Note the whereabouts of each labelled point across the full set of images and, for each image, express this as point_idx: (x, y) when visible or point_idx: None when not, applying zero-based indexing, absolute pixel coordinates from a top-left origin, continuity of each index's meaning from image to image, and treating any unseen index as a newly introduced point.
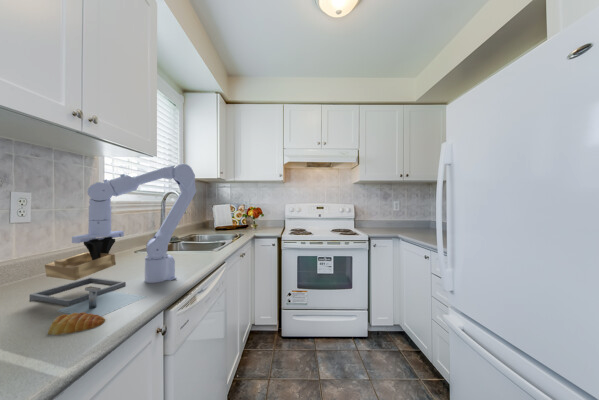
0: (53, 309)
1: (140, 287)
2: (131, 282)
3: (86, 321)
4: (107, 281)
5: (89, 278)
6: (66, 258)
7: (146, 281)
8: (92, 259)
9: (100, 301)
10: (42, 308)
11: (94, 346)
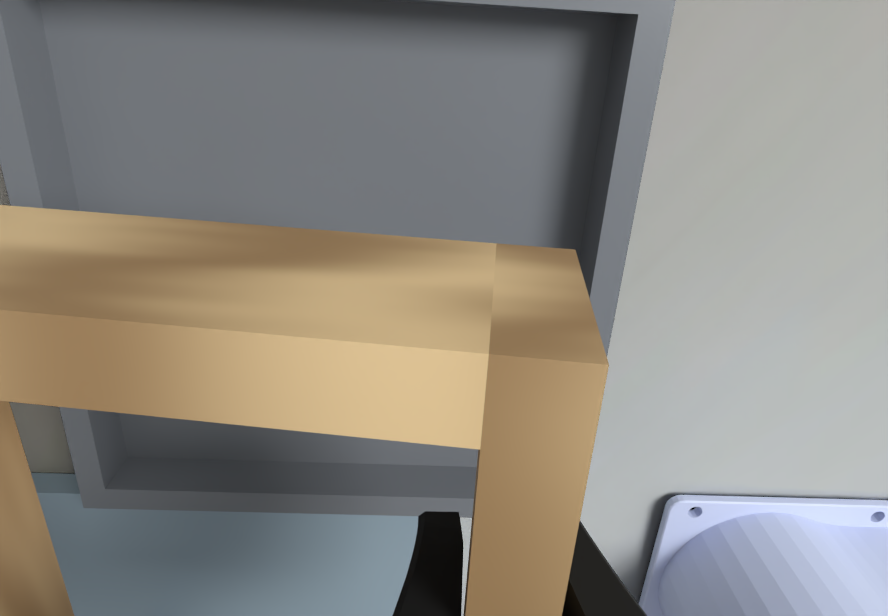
0: None
1: (604, 552)
2: (721, 395)
3: None
4: None
5: (630, 16)
6: (22, 333)
7: (671, 583)
8: (413, 558)
9: (246, 596)
10: None
11: None
